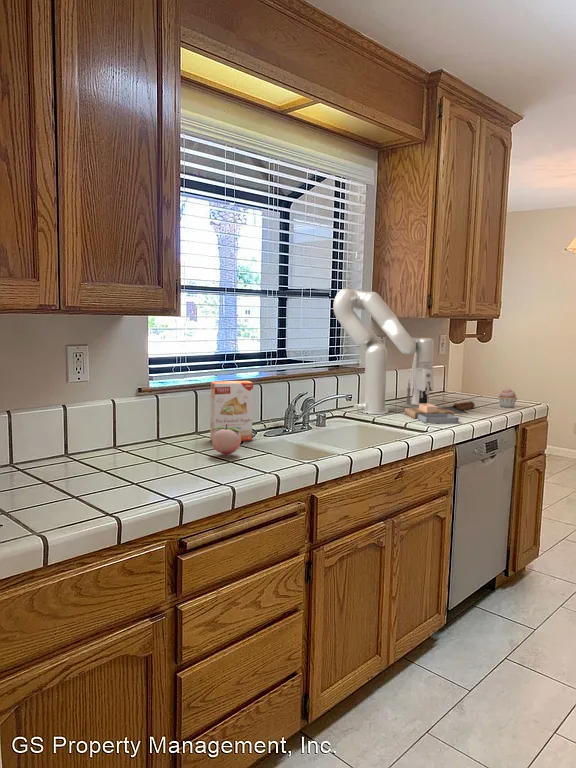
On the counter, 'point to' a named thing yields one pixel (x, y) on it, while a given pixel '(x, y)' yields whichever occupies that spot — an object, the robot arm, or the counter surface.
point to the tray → (437, 418)
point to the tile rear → (422, 405)
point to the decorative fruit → (226, 440)
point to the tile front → (429, 408)
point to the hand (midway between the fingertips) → (422, 405)
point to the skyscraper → (415, 393)
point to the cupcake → (507, 398)
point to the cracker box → (232, 407)
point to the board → (415, 411)
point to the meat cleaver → (460, 407)
